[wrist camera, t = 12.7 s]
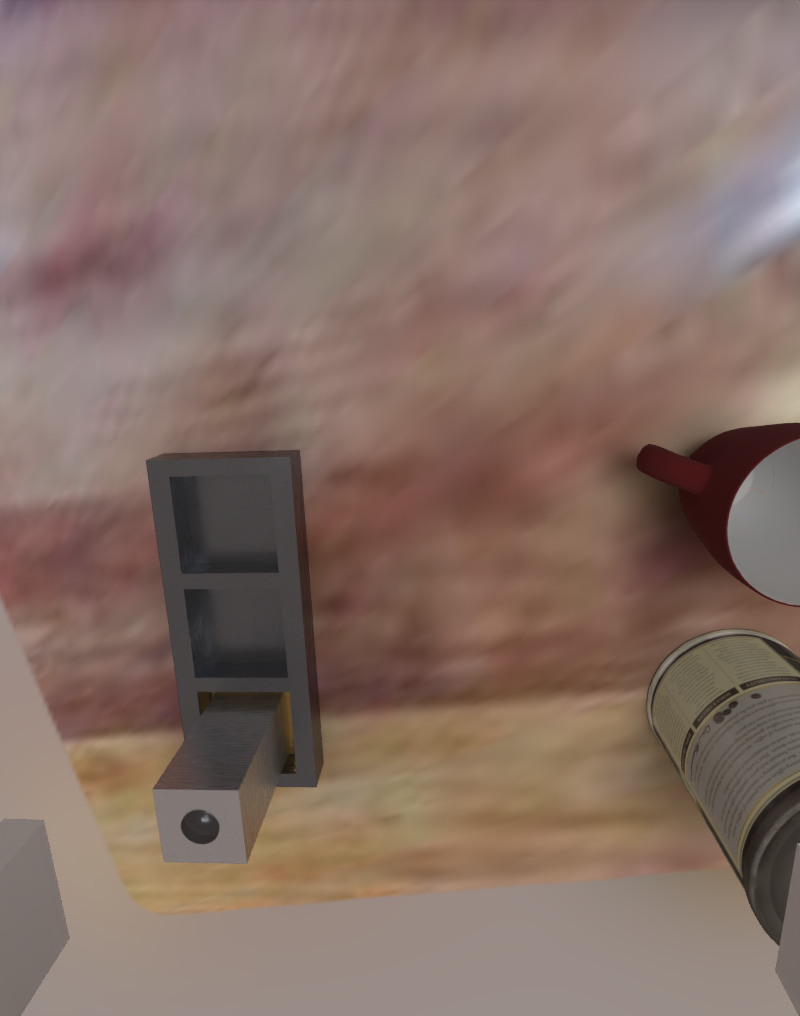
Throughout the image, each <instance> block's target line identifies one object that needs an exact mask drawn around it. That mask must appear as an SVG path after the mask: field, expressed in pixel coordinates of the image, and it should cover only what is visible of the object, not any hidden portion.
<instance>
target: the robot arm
mask: <svg viewBox="0 0 800 1016" xmlns="http://www.w3.org/2000/svg"><path fill="white" fill-rule="evenodd" d="M68 940H69V934H68V929H67V924H66V920H65V915H64V910H63V906H62V901H61V897H60V893H59V888H58V883H57V878H56V874H55V870H54V865H53V860H52V856H51V851H50V846H49V842H48V837H47V833H46V828H45V823H44V820H26V819H3V820H2V822H1V823H0V1016H21V1014H22V1013H23V1011H24V1010H25V1008H26V1006H27V1005H28V1003H29V1002H30V1000H31V999H32V997H33V995H34V994H35V992H36V991H37V989H38V987H39V986H40V984H41V983H42V981H43V979H44V978H45V976H46V975H47V973H48V972H49V970H50V968H51V967H52V965H53V963H54V962H55V960H56V959H57V957H58V955H59V954H60V952H61V951H62V949H63V948H64V946H65V944H66V943H67V941H68ZM775 971H776V973H777V975H778V977H779V979H780V981H781V982H782V984H783V986H784V988H785V990H786V992H787V994H788V996H789V998H790V1000H791V1002H792V1003H793V1005H794V1007H795V1009H796V1011H797V1013H798V1015H799V1016H800V843H797V848H796V853H795V859H794V865H793V871H792V877H791V882H790V888H789V894H788V900H787V905H786V911H785V917H784V923H783V929H782V934H781V940H780V946H779V952H778V958H777V963H776V969H775Z"/></svg>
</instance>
